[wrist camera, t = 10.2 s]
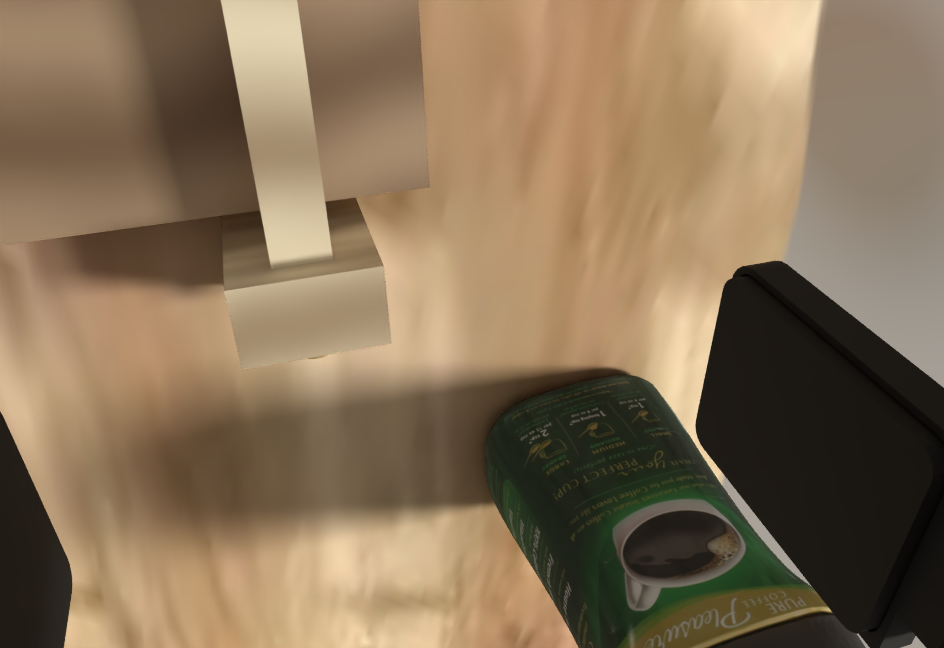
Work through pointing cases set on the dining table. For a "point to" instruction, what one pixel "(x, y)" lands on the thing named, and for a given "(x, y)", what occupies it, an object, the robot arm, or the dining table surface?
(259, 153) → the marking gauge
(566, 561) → the coffee jar
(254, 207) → the walnut board
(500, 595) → the dining table surface
